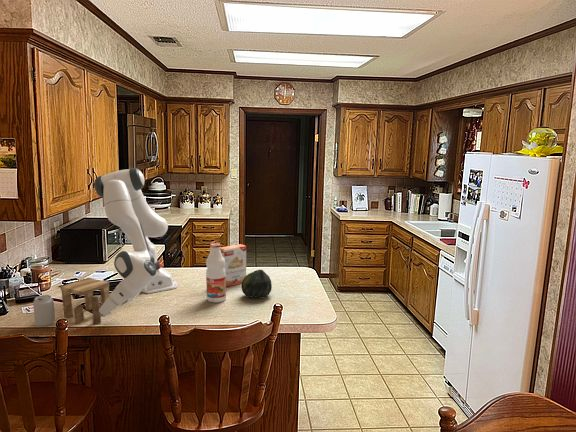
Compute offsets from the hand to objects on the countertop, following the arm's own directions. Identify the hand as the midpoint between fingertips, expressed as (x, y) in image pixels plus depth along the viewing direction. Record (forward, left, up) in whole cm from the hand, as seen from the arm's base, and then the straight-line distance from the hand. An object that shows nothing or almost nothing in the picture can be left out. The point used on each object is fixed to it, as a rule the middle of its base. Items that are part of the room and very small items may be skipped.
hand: (106, 312), depth 187 cm
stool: (+8, -13, -5) cm, 16 cm away
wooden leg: (+3, -6, -5) cm, 8 cm away
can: (+24, -10, -6) cm, 27 cm away
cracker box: (-64, -31, -6) cm, 71 cm away
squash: (-70, -8, -6) cm, 71 cm away
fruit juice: (-50, -11, -6) cm, 51 cm away
